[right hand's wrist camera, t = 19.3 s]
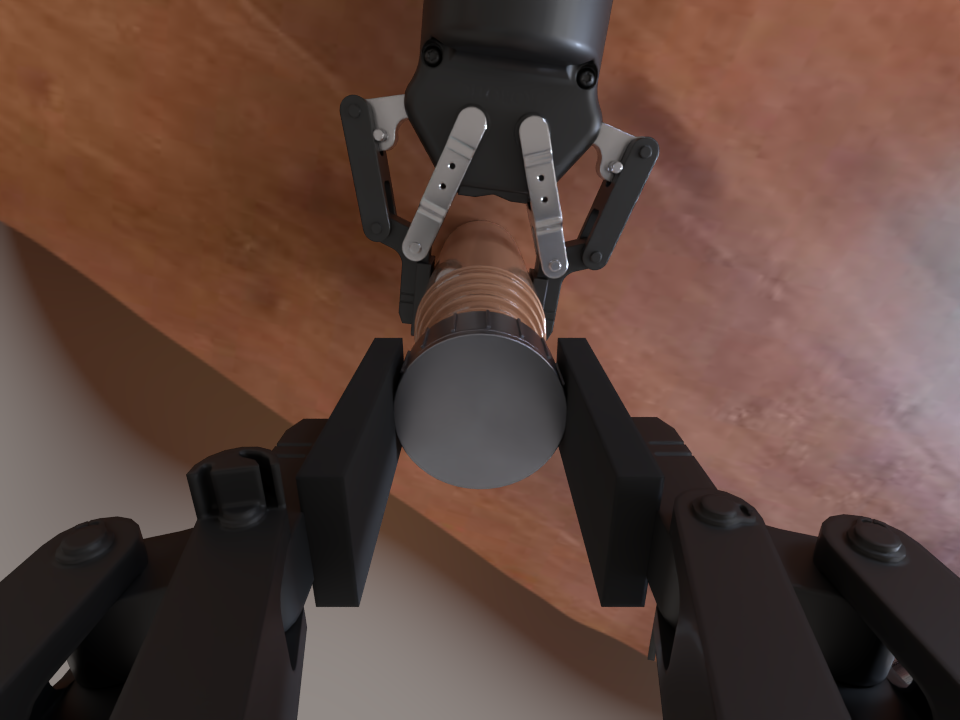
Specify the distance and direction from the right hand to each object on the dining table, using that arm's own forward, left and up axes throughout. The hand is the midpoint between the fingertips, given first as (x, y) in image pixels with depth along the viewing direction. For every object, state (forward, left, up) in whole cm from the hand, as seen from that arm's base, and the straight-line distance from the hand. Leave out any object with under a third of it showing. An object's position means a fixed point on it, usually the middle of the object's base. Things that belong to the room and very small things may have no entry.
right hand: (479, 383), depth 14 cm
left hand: (-2, -1, -11) cm, 12 cm away
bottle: (0, 0, -18) cm, 18 cm away
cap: (0, 0, +2) cm, 2 cm away
